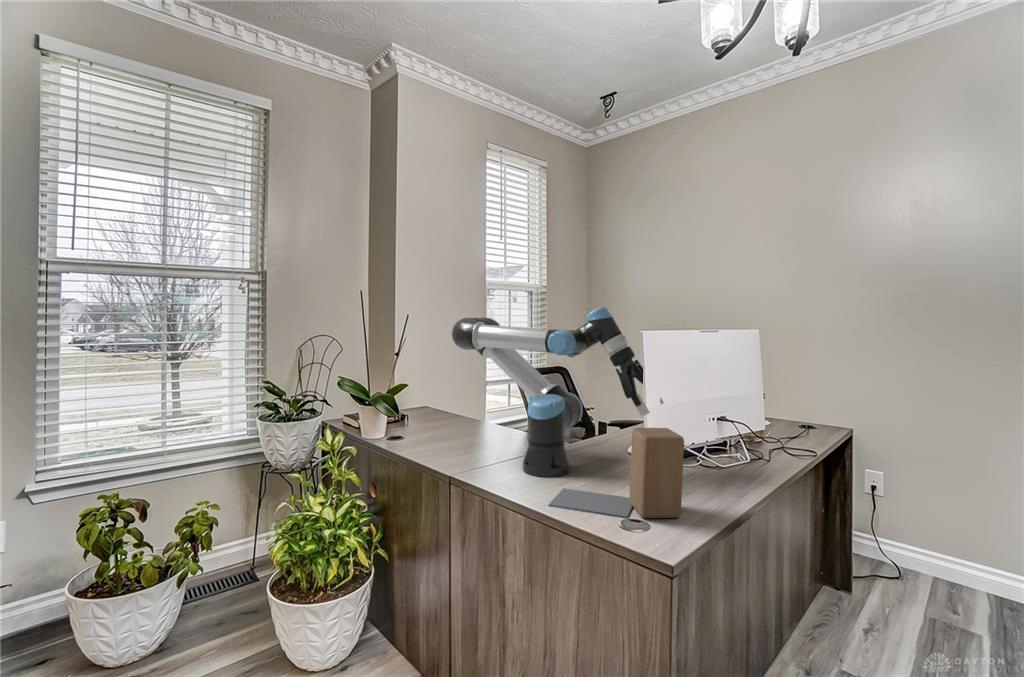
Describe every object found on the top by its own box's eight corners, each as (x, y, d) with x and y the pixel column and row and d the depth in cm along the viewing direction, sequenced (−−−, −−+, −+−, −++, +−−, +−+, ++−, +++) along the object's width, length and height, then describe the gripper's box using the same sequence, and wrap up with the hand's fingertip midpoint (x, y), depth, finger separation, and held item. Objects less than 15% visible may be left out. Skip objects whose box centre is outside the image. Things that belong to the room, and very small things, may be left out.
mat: (548, 505, 123) (548, 504, 123) (563, 489, 135) (563, 488, 135) (627, 518, 115) (627, 516, 115) (635, 499, 127) (635, 498, 127)
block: (628, 503, 124) (631, 426, 123) (665, 503, 125) (668, 427, 124) (641, 519, 114) (645, 436, 113) (682, 519, 115) (686, 437, 114)
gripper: (612, 350, 143) (649, 413, 138) (642, 341, 163) (675, 396, 158) (593, 362, 147) (628, 424, 142) (624, 351, 167) (656, 406, 162)
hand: (653, 409), depth 150 cm, fingers open, 13 cm apart
